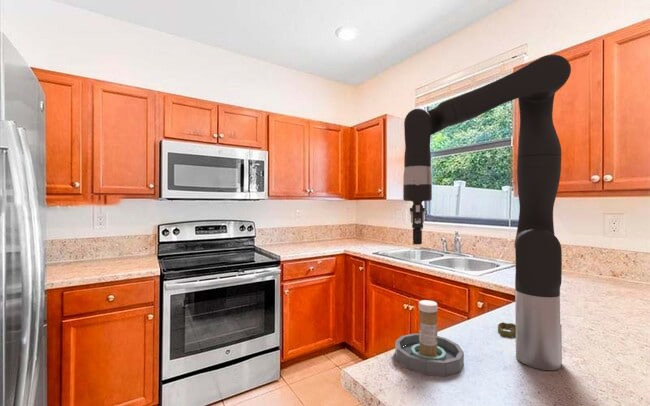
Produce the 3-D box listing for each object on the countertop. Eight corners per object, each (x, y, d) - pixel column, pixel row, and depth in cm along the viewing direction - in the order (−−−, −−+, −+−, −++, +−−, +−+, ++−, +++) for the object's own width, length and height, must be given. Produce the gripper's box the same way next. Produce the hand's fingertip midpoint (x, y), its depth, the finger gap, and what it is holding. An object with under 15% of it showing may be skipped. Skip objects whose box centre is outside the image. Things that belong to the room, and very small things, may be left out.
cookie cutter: (533, 348, 85) (533, 341, 85) (490, 333, 95) (490, 326, 95) (561, 334, 95) (561, 327, 95) (519, 321, 105) (519, 315, 105)
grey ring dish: (430, 340, 89) (430, 330, 89) (477, 367, 74) (477, 354, 74) (383, 350, 83) (383, 339, 83) (425, 381, 68) (425, 368, 68)
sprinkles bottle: (423, 349, 82) (423, 298, 82) (440, 355, 78) (440, 302, 79) (415, 355, 78) (415, 302, 78) (433, 361, 75) (432, 306, 75)
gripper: (403, 185, 93) (403, 239, 93) (402, 182, 79) (402, 245, 79) (430, 185, 91) (429, 240, 91) (433, 181, 77) (433, 246, 77)
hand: (417, 242), depth 85 cm, fingers open, 8 cm apart
